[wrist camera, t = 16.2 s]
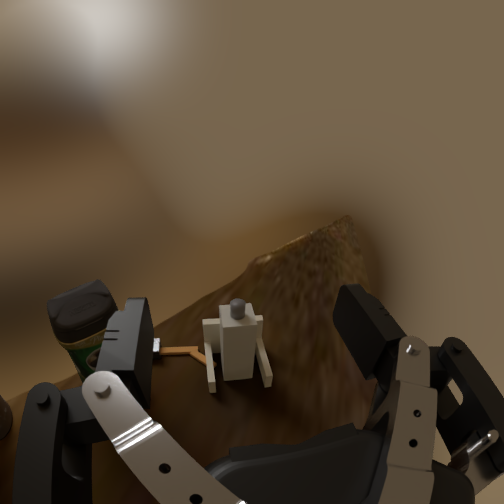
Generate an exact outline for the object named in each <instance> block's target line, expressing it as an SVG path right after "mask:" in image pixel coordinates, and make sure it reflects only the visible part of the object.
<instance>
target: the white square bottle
mask: <svg viewBox="0 0 504 504" xmlns="http://www.w3.org/2000/svg"><path fill="white" fill-rule="evenodd" d="M219 315H220V351H221V364H222V371H223V377H224V381H228V380H238V379H248V378H252V376H253V366H254V356H255V345H256V334H257V322H256V318H255V315H254V312H253V309H252V305H251V303H248V304H246V303H245V301H244V300H242V299H234V300H232V301H231V302H230V305H220V306H219Z"/></svg>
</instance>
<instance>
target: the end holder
mask: <svg viewBox="0 0 504 504" xmlns="http://www.w3.org/2000/svg"><path fill="white" fill-rule="evenodd" d="M255 318H256V322H257V334H256V345H255V354H256V358H257V361H258V365H259V369H260V372H261V376H262V380H263V383H264V387H271V383H272V378H273V374H272V371H271V368H270V364H269V361H268V358H267V354H266V351H265V348H264V345H263V341H262V338H261V336H262V327H263V318H262V315H259V316H255ZM203 331H204V343H205V354H206V364H207V374H208V383H209V392H210V393H216V384H215V375H214V367H213V359H212V353H221V351H220V318H219V319H203Z"/></svg>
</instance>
